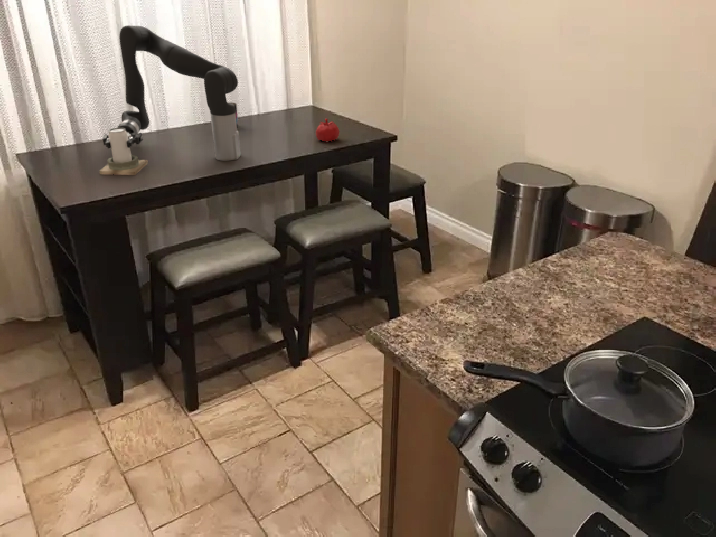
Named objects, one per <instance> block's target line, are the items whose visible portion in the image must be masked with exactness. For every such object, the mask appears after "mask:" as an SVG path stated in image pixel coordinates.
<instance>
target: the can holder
mask: <svg viewBox="0 0 716 537" xmlns="http://www.w3.org/2000/svg"><path fill="white" fill-rule="evenodd" d="M131 156H132V161H129V162H123V163H115V162H114V161H113V156H111V157H109V158H108V159H107V160H106V161H107V164H106V165H105V166H104V167H102V168H101V169H99V175H113V174H114V175H118V176H121V175H123V176H125V175H128V176H136V175H137V174H138V173H139V172H140V171H141V170H143V168H144V167H146V165H148V163H149V162H148V160H147V159H139V158H138V156H137V155H135V154H131Z"/></svg>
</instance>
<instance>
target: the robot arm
mask: <svg viewBox="0 0 716 537" xmlns="http://www.w3.org/2000/svg"><path fill="white" fill-rule="evenodd" d="M118 38H119V39H118V40H119V45H120V51H121V59H122V63H123V69H124V76H125V78H124V79H125V102H126V104H127V105H129V106H132V107H134V108H136V109H137V110H138V111H137V110H125V111H122V113H121V122H120V123H119V124H118V125H117V127H116V128H125V131H126V132H127V134H128V139H129V140H128V141H127V147H128V148H130V149H131V147H133V146H134V145H135V144H136V145H140V144H141V143H142V141H143V140H144V137H143V136H144V135H143V133H141V132H140V131H141V130H143V131H144V130H147V128H148V127H149V126H150V118H149V115H148V112H147V108H146V103H145V82H144V79H143V77H142V75H141V72H140V70H139V68H138V64H137V60H136V58H137V57H136V55H137V52H147V53H149V54H152V55H154V56H157V57H158V58H159V59H160V61H161V62H162V64H163V65H164V66H165V67H166V68H168V69H169V70H171V71H174V72H176V73H178V74H180V75H183V76H187V77H192V78H197V79H203V86H204V92H205V93H204V94H205V98H206V104H207V107H208V109H209V112H210V114H209V115H210V120H211V121H210V122H211V131H212V138H213V140H212V141H213V148H214V156H215V159H216V160H218V161H224V162H226V161H227V162H228V161H233V160H238V159H239V158H240V156H241V155H242V154H241V144H240V143H241V142H240V135H239V134H240V133H239V131H238V128H237V125H236V115H235V106H234V105H233V104H231V103H229V101H227V96H226V95H227V94H230V93H232V92H234V91H235V90H236V89H237V87H238V85H239V80H238V77H237V75H236V74H235V72H234V71H233V70H231V69H230V68H229V67H226V66H224V65H220V64H218V63H215V62H212V61H210V60H208V59H205V58H203V57H202V56H199V55H198V54H195V53H194V52H192V51H190V50H188V49H186V48H184V47H182V46H180V45H179V44H175V43H173V41H170V40H167V39H165V38H163V37H161V36H160V35H158V34H156V33H155V32H153V31H152V30H150V29H149V28H148V27H145V26H142V25H124V26H122V27H121V29H120V31H119V36H118ZM102 143H103V146H105V147H106V148H107V149H111V146H110V141H109V133H104V134H103V136H102Z"/></svg>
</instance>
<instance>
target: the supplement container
mask: <svg viewBox="0 0 716 537" xmlns="http://www.w3.org/2000/svg"><path fill="white" fill-rule="evenodd" d="M228 103H231V104H233V105H234V106H235V115H236V125H237V127H238V128H239V116H238V105H237V103H236V102H229V101H228Z"/></svg>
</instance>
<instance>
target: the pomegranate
mask: <svg viewBox="0 0 716 537" xmlns="http://www.w3.org/2000/svg"><path fill="white" fill-rule="evenodd" d="M328 120H329V119H328V118H324V121H325V122H324V121H320V122H318V123H319V125H318V126H317V127H316V129H315V137H316V139H317V140H318V141H319V140H322V141H331V142H333V141H332V140H334V141H336V140H337V139H338V138H339V136H340V129H339V127H338V126H337V123H335V122H334V121H330V122H328ZM335 139H336V140H335Z"/></svg>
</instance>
